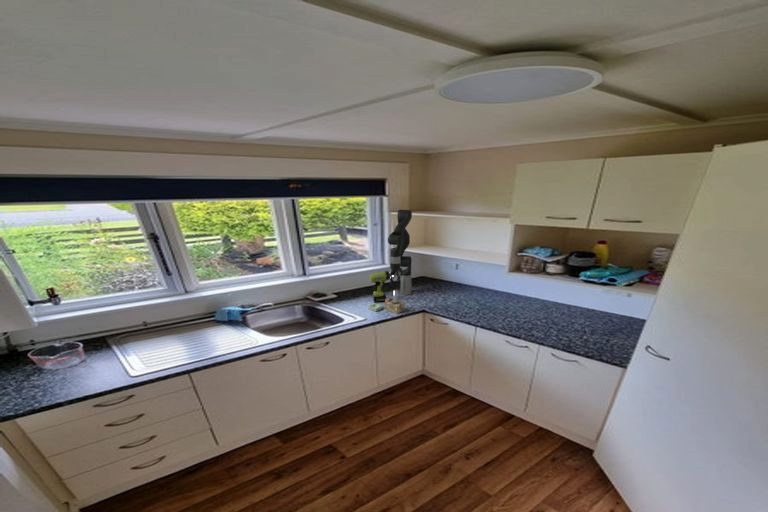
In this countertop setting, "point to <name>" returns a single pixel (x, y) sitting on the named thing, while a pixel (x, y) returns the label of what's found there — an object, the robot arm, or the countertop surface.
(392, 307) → the socket block
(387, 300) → the drift key
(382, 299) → the cordless drill
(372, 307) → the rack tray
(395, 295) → the steel bit
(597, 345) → the countertop surface
